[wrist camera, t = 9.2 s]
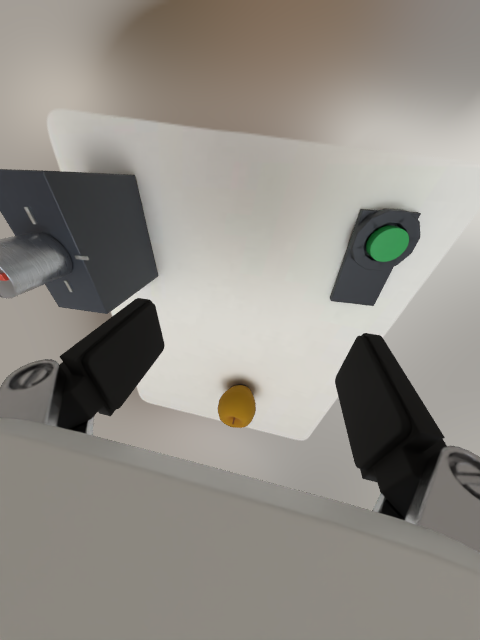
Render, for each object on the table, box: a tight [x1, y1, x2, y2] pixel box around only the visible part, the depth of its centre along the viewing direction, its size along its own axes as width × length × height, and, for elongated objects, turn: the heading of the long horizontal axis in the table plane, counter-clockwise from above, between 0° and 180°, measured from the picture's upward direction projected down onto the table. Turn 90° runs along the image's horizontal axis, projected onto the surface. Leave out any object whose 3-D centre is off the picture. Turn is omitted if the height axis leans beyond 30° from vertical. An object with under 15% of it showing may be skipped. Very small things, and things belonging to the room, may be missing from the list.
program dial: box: [0, 232, 72, 298], centre depth 18 cm, size 4×4×6 cm
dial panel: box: [0, 169, 158, 314], centre depth 25 cm, size 14×9×12 cm, turn 178°
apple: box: [218, 385, 256, 428], centre depth 44 cm, size 8×8×9 cm
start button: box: [366, 225, 409, 262], centre depth 22 cm, size 4×4×2 cm
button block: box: [330, 209, 421, 306], centre depth 25 cm, size 12×6×2 cm, turn 178°
